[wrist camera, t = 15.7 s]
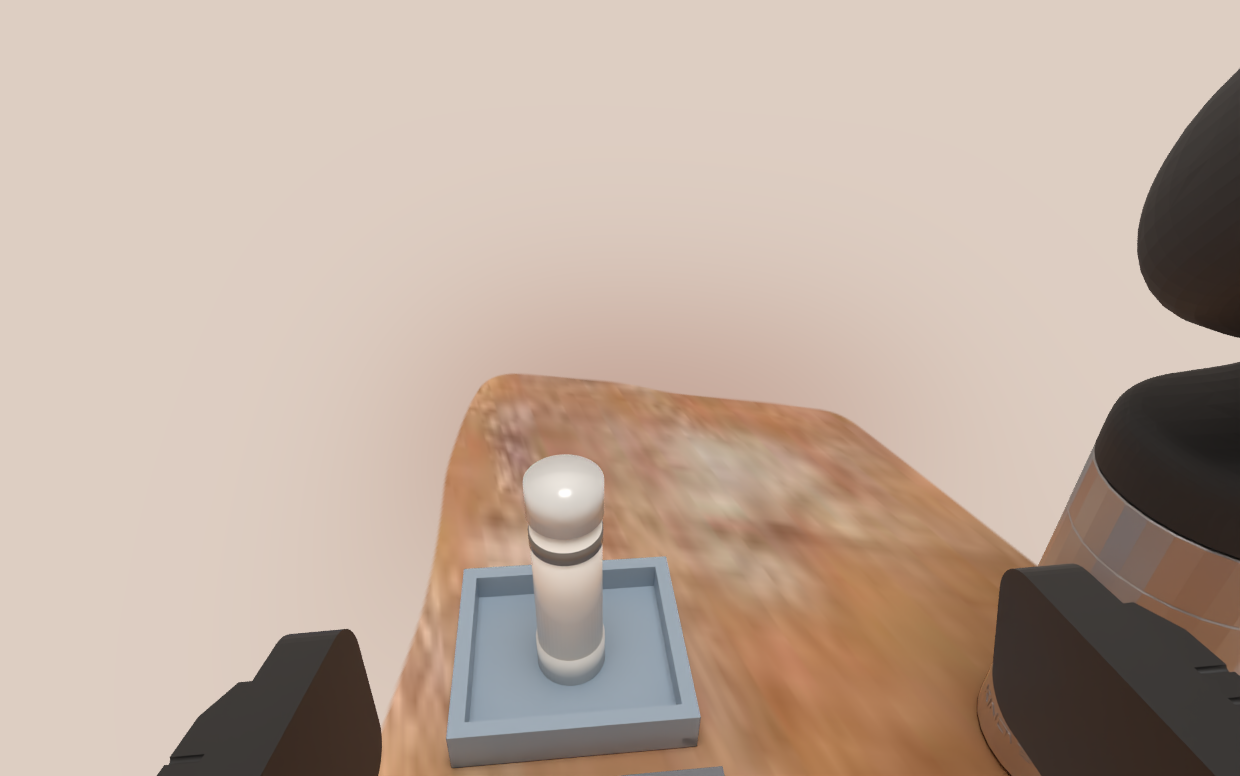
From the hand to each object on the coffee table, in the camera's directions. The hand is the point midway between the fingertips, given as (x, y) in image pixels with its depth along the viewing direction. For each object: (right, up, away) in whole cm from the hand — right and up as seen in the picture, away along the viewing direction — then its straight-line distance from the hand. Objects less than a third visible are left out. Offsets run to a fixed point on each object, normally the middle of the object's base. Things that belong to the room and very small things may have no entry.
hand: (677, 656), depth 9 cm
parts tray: (-4, -13, +32) cm, 35 cm away
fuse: (-3, -12, +32) cm, 34 cm away
